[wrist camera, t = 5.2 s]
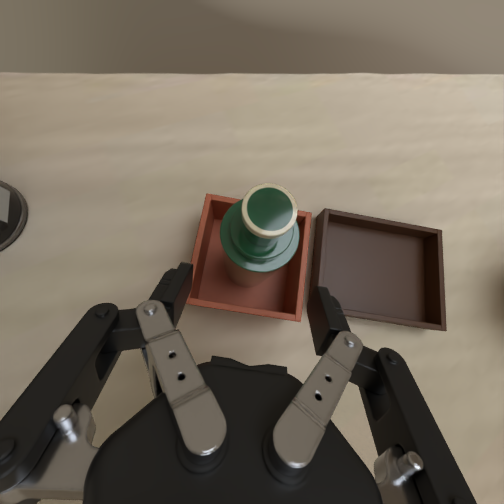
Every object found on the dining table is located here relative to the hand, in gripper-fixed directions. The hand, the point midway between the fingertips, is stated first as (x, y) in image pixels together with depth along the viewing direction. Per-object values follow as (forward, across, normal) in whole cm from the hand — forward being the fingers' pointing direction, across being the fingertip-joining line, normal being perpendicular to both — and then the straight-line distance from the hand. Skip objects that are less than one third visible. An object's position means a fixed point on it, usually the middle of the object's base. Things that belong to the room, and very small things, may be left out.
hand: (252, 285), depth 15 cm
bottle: (+12, 0, +6) cm, 13 cm away
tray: (+13, -16, +5) cm, 21 cm away
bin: (+12, 0, +6) cm, 13 cm away
